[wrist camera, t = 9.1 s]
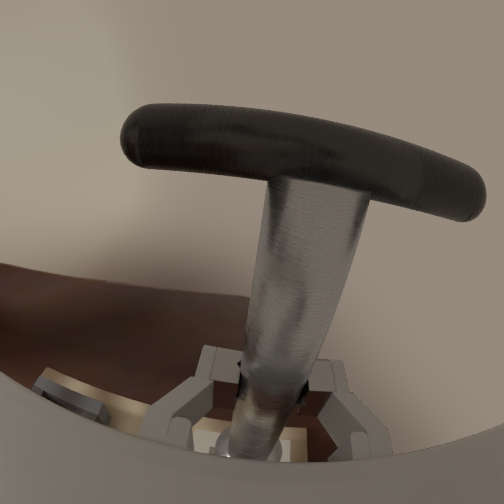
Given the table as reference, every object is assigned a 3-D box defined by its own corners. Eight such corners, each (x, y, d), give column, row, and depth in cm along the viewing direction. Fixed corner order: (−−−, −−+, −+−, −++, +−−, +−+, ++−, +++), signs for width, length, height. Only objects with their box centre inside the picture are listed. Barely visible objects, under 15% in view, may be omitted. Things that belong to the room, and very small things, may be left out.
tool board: (4, 459, 13) (-19, 440, 10) (51, 374, 25) (37, 349, 23) (302, 551, 12) (319, 551, 10) (302, 433, 25) (315, 414, 23)
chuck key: (163, 472, 12) (79, 106, 4) (176, 425, 16) (156, 104, 7) (318, 489, 12) (529, 194, 4) (316, 441, 16) (452, 160, 7)
